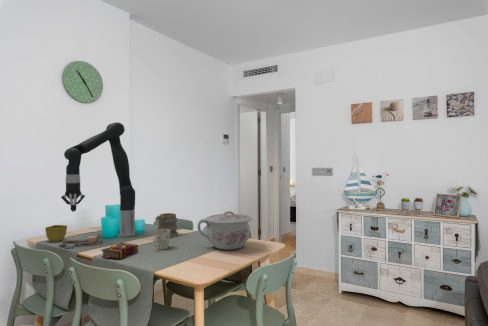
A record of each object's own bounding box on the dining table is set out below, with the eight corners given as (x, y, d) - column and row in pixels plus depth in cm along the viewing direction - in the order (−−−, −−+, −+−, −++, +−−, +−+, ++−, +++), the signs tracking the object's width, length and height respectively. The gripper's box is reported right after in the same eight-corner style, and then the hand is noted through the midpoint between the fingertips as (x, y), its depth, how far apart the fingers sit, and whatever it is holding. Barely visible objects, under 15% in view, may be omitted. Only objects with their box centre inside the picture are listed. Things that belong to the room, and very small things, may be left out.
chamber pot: (261, 245, 187) (261, 210, 187) (233, 257, 165) (233, 217, 164) (223, 238, 203) (223, 206, 203) (193, 248, 180) (193, 212, 180)
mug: (173, 246, 184) (173, 229, 184) (160, 252, 172) (160, 234, 172) (160, 245, 187) (160, 228, 187) (147, 251, 175) (147, 233, 175)
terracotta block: (97, 242, 195) (97, 235, 195) (96, 244, 191) (96, 237, 191) (88, 242, 194) (88, 236, 194) (87, 244, 189) (87, 238, 189)
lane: (101, 240, 199) (101, 232, 199) (100, 244, 189) (100, 236, 189) (62, 243, 192) (62, 235, 191) (59, 247, 182) (59, 239, 182)
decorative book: (138, 252, 174) (138, 243, 174) (117, 261, 158) (117, 251, 158) (121, 250, 177) (121, 241, 177) (99, 259, 162) (99, 249, 162)
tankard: (165, 232, 221) (165, 211, 221) (181, 234, 217) (181, 212, 217) (146, 239, 203) (146, 215, 203) (163, 240, 198) (163, 216, 198)
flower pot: (67, 239, 202) (67, 225, 202) (58, 242, 193) (58, 228, 193) (54, 239, 203) (54, 224, 203) (44, 242, 194) (44, 227, 194)
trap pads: (88, 240, 199) (88, 239, 199) (71, 249, 180) (71, 247, 180) (80, 240, 199) (80, 239, 199) (62, 249, 180) (62, 247, 180)
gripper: (86, 181, 194) (86, 209, 195) (61, 182, 190) (62, 211, 190) (84, 182, 187) (85, 211, 188) (59, 182, 183) (59, 213, 183)
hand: (73, 211), depth 189 cm, fingers closed
